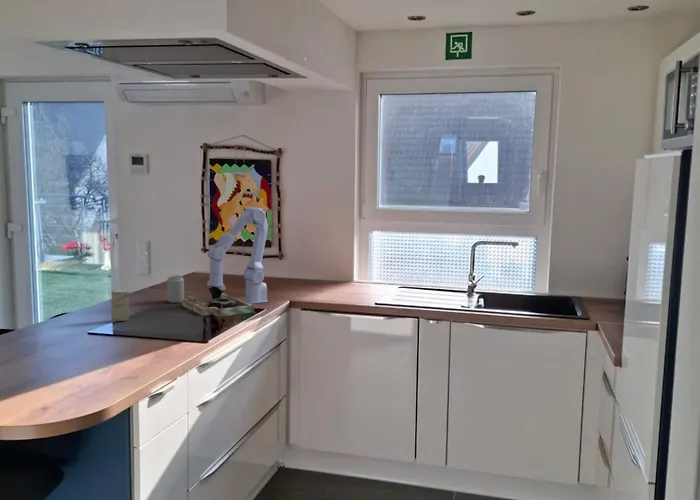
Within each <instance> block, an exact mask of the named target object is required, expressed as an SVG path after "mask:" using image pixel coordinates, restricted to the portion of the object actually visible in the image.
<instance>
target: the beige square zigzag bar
mask: <svg viewBox="0 0 700 500" xmlns="http://www.w3.org/2000/svg"><path fill="white" fill-rule="evenodd" d="M220 298H229V299H233V300H235V301H236V307H232V308H224V309H218V308H216V307H210V306H209V307H208V303H207V302H205V301H197V298H196V297H193V296H191V295H190V296H189V295H188V297H187V298H184V299H183V301H182V307H183V308H186V309H188V310H190V311H193V312H194V313H197V314H198V315H200V316H202V317H204V316H210V315H212V316H215V317H218V318H220V317H227V316H235V315H243V314H250V313H251V314H253V313H255V305H254V304H249V303H247V302H244V301H242V300H241V299H239V298H236V297H234V296H231V295H228V294H227V293H224V292H222V294H221V297H220Z"/></svg>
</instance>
